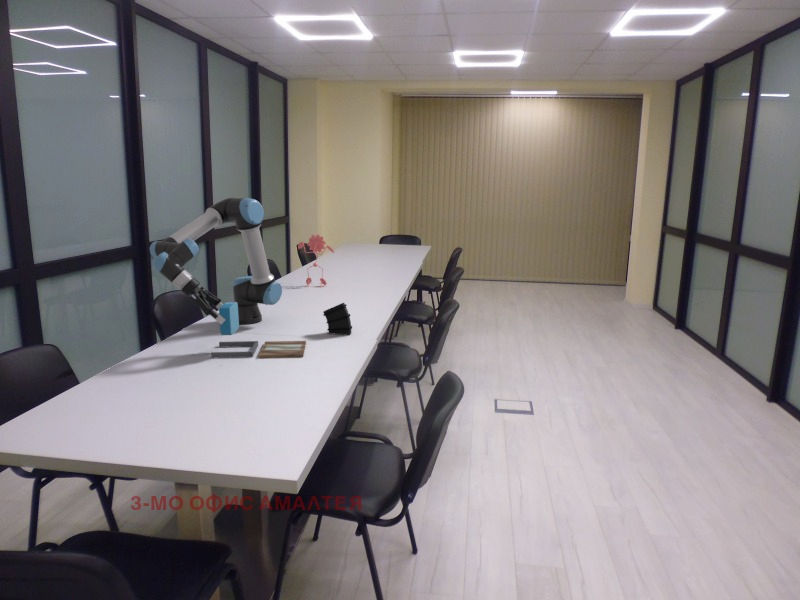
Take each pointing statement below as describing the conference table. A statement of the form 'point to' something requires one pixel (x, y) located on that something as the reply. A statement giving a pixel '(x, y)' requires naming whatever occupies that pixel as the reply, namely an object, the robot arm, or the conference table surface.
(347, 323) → the magazine
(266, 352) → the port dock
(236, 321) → the data package
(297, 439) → the conference table surface
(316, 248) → the figurine
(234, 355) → the grey u-shaped frame
